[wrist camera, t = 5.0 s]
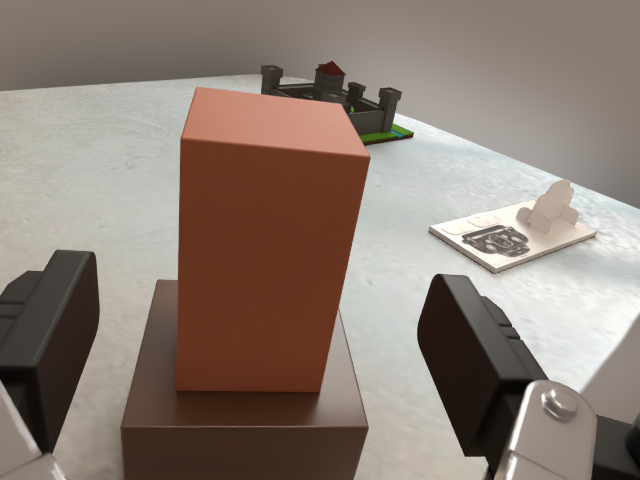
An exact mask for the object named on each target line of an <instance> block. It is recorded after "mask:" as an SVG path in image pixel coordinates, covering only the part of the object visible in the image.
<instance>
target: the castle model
mask: <svg viewBox="0 0 640 480" xmlns="http://www.w3.org/2000/svg"><path fill="white" fill-rule="evenodd" d="M315 70H316V76H315V83H304V84H290V85H289V84H287V85H286V84H284V85H281V86H280V85H279V83H280V78H282V75H283V69H282V68H279V67H277V66H275V65H273V66H272V65H271V66H270V65H268V66H267V65H265V66H261V74H262V75H263V77H262V88H261V94H262V95H271V96H279V97H288V98H296V99H304V100H313V101H321V102H330V103H338V104H341V105H342V107H343V108H344V110H345V112H346V114H347V116H348V117H349V119H350V121H351V123H352V125H353V126H354V128H355V130H356V132H357V134H358V135H359V137H360V139H361V141H362V143H363V144H364V146H365V145H370V144H376V143H382V142H388V141H394V140H400V139H405V138H411V137H413V134H414V132H411V131H409V130H407V129H404V128H402V127H400V126H398V125H395V124H393V119H394V115H395V110H396V105H397V102H398V100H400V98H401V94H402V92H400V91H397V90H396V89H393V88H392V89H391V88H380V91H379V97H380V102H379V104H377V103H375V102H374V103H373V102H372V101H369V100H367V99H365V98H362V96H363V91H365V88H366V86H363V85H360V84H357V83H355V82H350V83H348V87H349V90H348V91H346V90H343V89H342V86H343V81H344V75H346V74H345V73H344V72H343V71H342V70H341V69H340V68H339V67H338V66H337V65H336V64H335V63H334V62H333V61H331V62H329V63H327V64H319V67H318V68H317V69H315Z"/></svg>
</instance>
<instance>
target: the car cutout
mask: <svg viewBox="0 0 640 480" xmlns="http://www.w3.org/2000/svg"><path fill="white" fill-rule="evenodd" d="M573 193H574V189H573V188H570V180H569V179H568V180H567V179H566V180H561V181H558V182H555V183H554V184H553V185H552V186H551V187H550V189H549V190H548V192H547V193H546V194H544V195H542V196H541V197H540V198H539V199H538V200H537V201H536V200H531V201H527V202H523V203H519V204H515V205H511V206H507V207H503V208H499V209H495V210H491V211H487V212H483V213H479V214H476V215H472V216H468V217H464V218H460V219H456V220H452V221H448V222H444V223H440V224H436V225H432V226H430V228H429V231H430V232H431V233H433V234H434V235H436V236H437V237H439V238H440V239H442V240H443V241H445V242H446V243H448V244H450V245H451V246H453V247H454V248H456V249H457V250H459V251H460V252H462V253H463V254H465V255H466V256H468V257H470V258H471V259H473V260H474V261H476V262H477V263H479V264H480V265H482V266H483V267H485V268H486V269H488V270H490V271H491V272H493V273H497V272H500V271H502V270H505V269H508V268H510V267H513V266H516V265H519V264H521V263H524V262H527V261H529V260H532V259H535V258H537V257H540V256H543V255H545V254H548V253H551V252H554V251H556V250H559V249H562V248H564V247H567V246H570V245H572V244H575V243H578V242H580V241H583V240H586V239H589V238H591V237H594V236H596V234H597V231H595V230H593V229H591V228H589V227H587V226H585V225H583V224H581V223H579V222H577V219H578V212H577V211H576V210H575V209H573V208H571V207H569V203H570V201H571V198H572V196H573Z"/></svg>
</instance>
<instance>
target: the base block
mask: <svg viewBox="0 0 640 480" xmlns="http://www.w3.org/2000/svg"><path fill="white" fill-rule="evenodd" d="M177 306H178V280H160V279H159V280H157V283H156V287H155V291H154V295H153V299H152V303H151V307H150V311H149V315H148V319H147V323H146V327H145V331H144V335H143V339H142V343H141V347H140V351H139V355H138V359H137V363H136V367H135V371H134V375H133V380H132V384H131V388H130V392H129V396H128V400H127V404H126V408H125V412H124V416H123V420H122V424H121V444H122V461H123V478H124V480H354V477H355V473H356V470H357V466H358V463H359V460H360V456H361V453H362V449H363V446H364V443H365V439H366V436H367V432H368V429H369V426H368V422H367V418H366V414H365V410H364V406H363V402H362V398H361V394H360V390H359V386H358V382H357V378H356V374H355V370H354V366H353V362H352V358H351V354H350V351H349V347H348V343H347V339H346V335H345V331H344V327H343V323H342V319H341V315H340V311H339V308H338V312H337V317H336V322H335V326H334V331H333V336H332V340H331V345H330V350H329V354H328V359H327V364H326V368H325V373H324V378H323V382H322V387H321V391H320V392H239V391H177V390H176V360H177Z"/></svg>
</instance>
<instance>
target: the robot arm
mask: <svg viewBox="0 0 640 480" xmlns="http://www.w3.org/2000/svg"><path fill="white" fill-rule="evenodd" d="M99 314H100V305H99V291H98V278H97V264H96V256H95V254H94V252H89V251H73V250H56V251H55V252H54V254H53V255H52V257H51V259H50V260H49V262H48V264H47V266H46V267H45V269H44V271H27V272H25V273H24V274H22V275H21V276H19V277H18V278H17V279H15V280H14V281H12V282H11V283H9V284H8V285H7V287H6V288H5V290H4V291H3V293H2V294H1V296H0V480H67V478H66V476H65V475H64V473H63V471H62V469H61V468H60V466H59V464H58V463H57V461H56V459H55V458H54V457H53V455H52V453H53V450H54V448H55V445H56V442H57V440H58V437H59V434H60V431H61V429H62V426H63V423H64V421H65V418H66V415H67V412H68V410H69V407H70V404H71V401H72V399H73V396H74V393H75V391H76V388H77V385H78V382H79V380H80V377H81V374H82V372H83V369H84V366H85V363H86V361H87V358H88V355H89V353H90V350H91V347H92V344H93V342H94V339H95V336H96V333H97V329H98V324H99ZM417 338H418V344H419V347H420V350H421V352H422V354H423V357H424V359H425V362H426V364H427V366H428V369H429V371H430V374H431V376H432V378H433V381H434V383H435V386H436V388H437V391H438V393H439V395H440V398H441V400H442V403H443V405H444V407H445V410H446V412H447V415H448V417H449V419H450V422H451V424H452V427H453V429H454V431H455V434H456V436H457V439H458V441H459V443H460V446H461V448H462V451H463V453H464V455H465V457H481V456H485V458H486V460H487V462H488V464H489V465H488V467H487V469H486V471H485V473H484V475H483V478H482V480H640V413H639V415H638V416H637V418H636V419H635V421H634V422H633V424H628V423H624V422H620V421H617V420H613V419H610V418H606V417H603V416H599V415H596V413H595V411H594V409H593V408H592V407H591V405H590V404H589V403H588V401H587V400H586V399H585V398H583V397H582V396H581V395H580V394H579V393H577V392H576V391H574V390H573V389H571V388H569V387H568V386H566V385H563V384H561V383H558V382H555V381H550V380H549V379H548V377H547V376H546V374H545V373H544V371H543V370H542V368H541V367H540V365H539V364H538V362H537V361H536V359H535V358H534V357H533V355H532V354H531V352H530V351H529V349H528V348H527V346H526V345H525V343H524V342H523V340H520V336H519V334H518V333H517V331H516V330H515V328H513V327H512V324H511V322H510V321H509V319H508V318H507V316H506V315H505V313H504V312H503V310H502V309H501V308H499V307H498V306H497V305H496V304H494V303H493V302H492V301H491V300H490V299H488V298H487V297H486V296H480V294H479V293H478V291H477V290H476V288H475V286H474V285H473V283H472V282H471V280H470V279H469V277H467V276H464V275H448V274H436V275H435V276H434V277H433V279H432V282H431V285H430V288H429V291H428V294H427V297H426V300H425V303H424V306H423V309H422V313H421V316H420V319H419V322H418V328H417Z"/></svg>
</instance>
